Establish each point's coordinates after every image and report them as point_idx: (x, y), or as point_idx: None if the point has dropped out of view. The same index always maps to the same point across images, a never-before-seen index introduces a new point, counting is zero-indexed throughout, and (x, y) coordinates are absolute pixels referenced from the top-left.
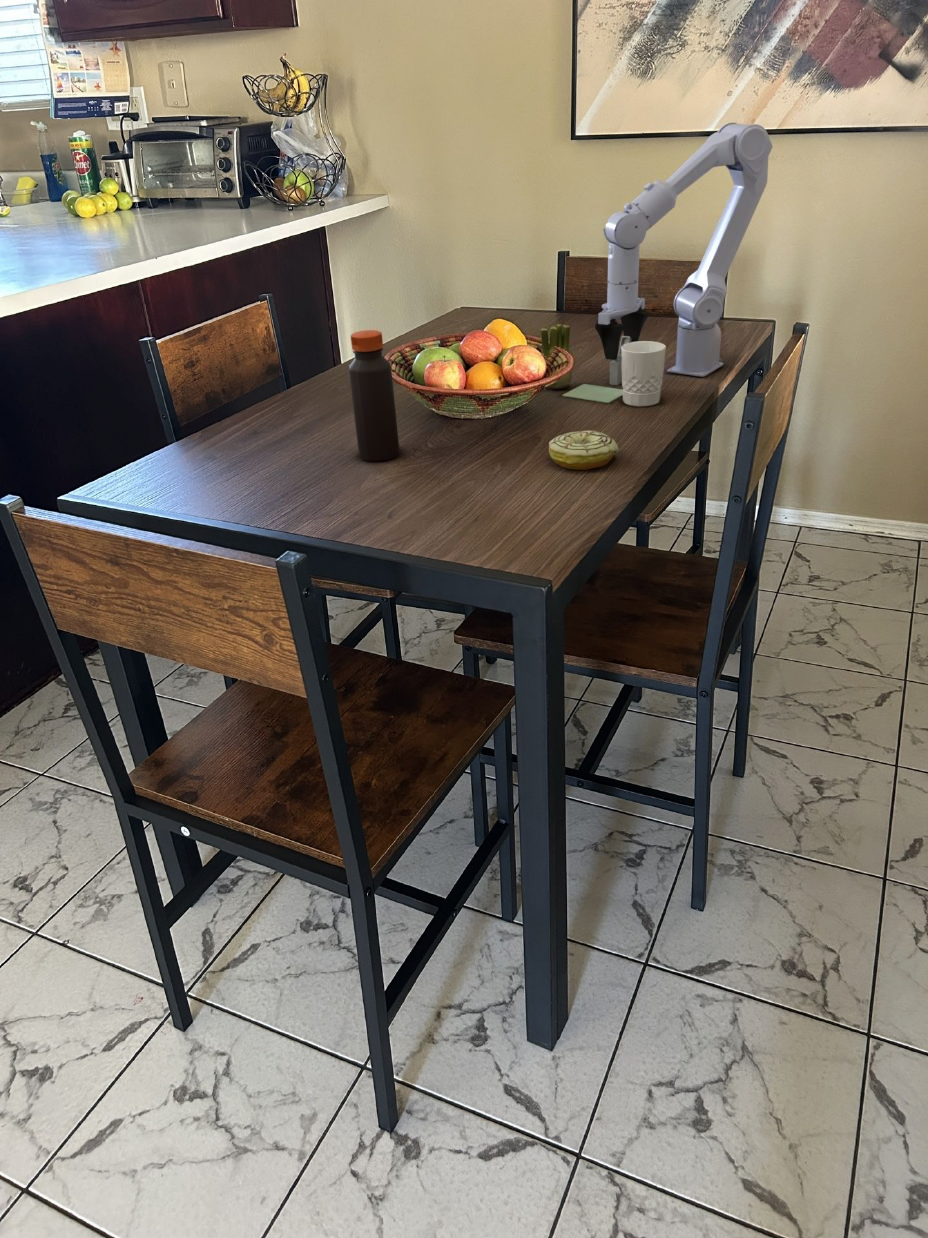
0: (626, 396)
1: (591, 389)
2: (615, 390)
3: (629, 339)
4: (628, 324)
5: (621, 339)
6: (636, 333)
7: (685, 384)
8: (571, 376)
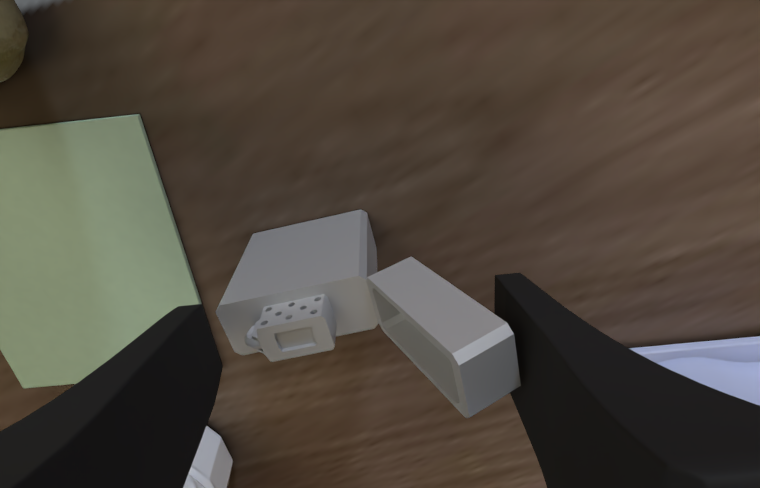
0: None
1: (94, 220)
2: None
3: (454, 404)
4: (579, 456)
5: (436, 344)
6: (541, 451)
7: (448, 470)
8: (6, 76)
